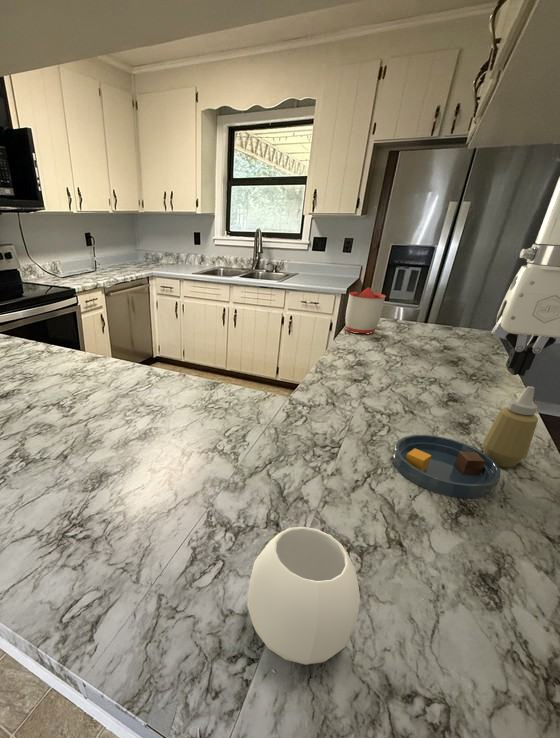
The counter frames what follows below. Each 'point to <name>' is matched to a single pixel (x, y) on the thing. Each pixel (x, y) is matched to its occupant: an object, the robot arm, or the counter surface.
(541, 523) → the counter surface
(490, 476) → the plate
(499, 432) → the squeeze bottle
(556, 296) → the robot arm
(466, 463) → the walnut block
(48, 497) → the counter surface
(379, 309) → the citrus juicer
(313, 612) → the cup
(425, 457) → the mustard block
